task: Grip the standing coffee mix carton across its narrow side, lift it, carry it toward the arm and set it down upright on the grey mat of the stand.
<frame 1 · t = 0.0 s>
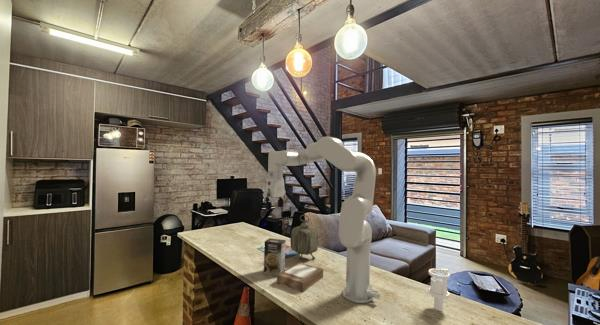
hand: (274, 208, 132), 31 cm above the counter, tool pointing down, fingers open, 9 cm apart
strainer: (438, 309, 98), on the counter
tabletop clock: (303, 258, 148), on the counter
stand: (300, 280, 120), on the counter
tablet: (280, 251, 161), on the counter
coffee box: (274, 273, 127), on the counter
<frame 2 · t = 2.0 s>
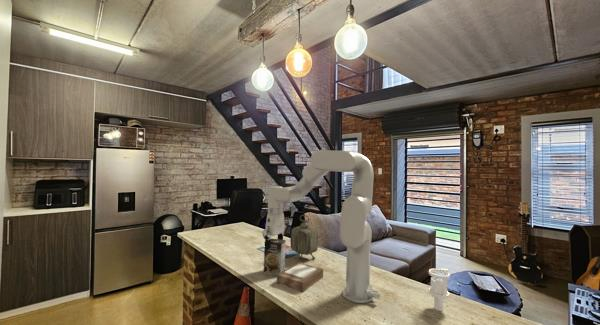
hand: (274, 245, 128), 14 cm above the counter, tool pointing down, fingers open, 9 cm apart
nothing on the counter moved.
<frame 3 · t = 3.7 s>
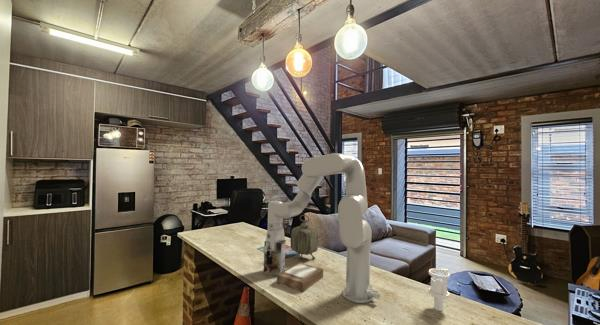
hand: (274, 261, 128), 6 cm above the counter, tool pointing down, fingers closed on coffee box, 7 cm apart
coffee box: (274, 273, 127), on the counter, touching gripper
everything else where it was.
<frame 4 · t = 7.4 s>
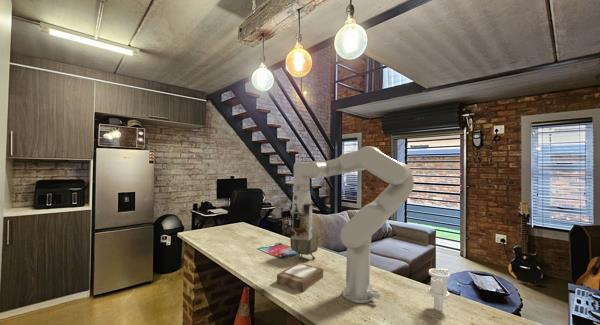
hand: (301, 225, 120), 25 cm above the counter, tool pointing down, fingers closed on coffee box, 7 cm apart
coffee box: (301, 238, 120), point 19 cm above the counter, touching gripper
everything else where it was.
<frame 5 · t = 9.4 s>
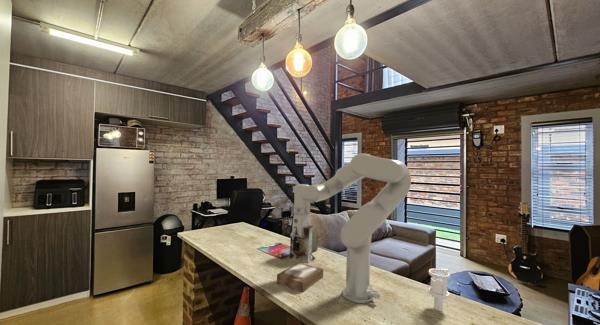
hand: (301, 248, 120), 15 cm above the counter, tool pointing down, fingers closed on coffee box, 7 cm apart
coffee box: (300, 260, 120), point 9 cm above the counter, touching gripper
everything else where it was.
when the fingers open (12 cm above the counter, at t = 11.1 s): coffee box drops 1 cm, resting on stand.
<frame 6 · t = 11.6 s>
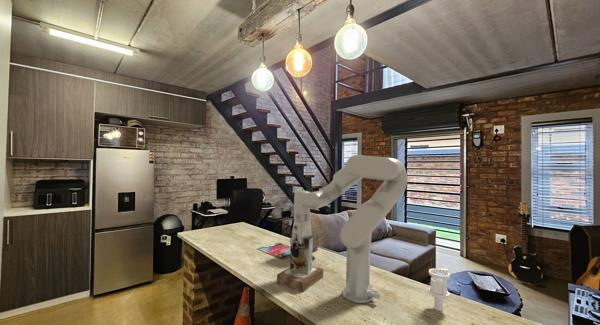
hand: (301, 253, 120), 12 cm above the counter, tool pointing down, fingers open, 9 cm apart
coffee box: (301, 270, 120), point 4 cm above the counter, touching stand
everything else where it was.
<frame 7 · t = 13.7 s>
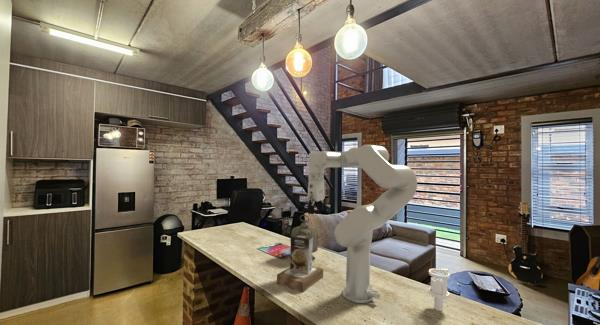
hand: (315, 212, 125), 31 cm above the counter, tool pointing down, fingers open, 9 cm apart
nothing on the counter moved.
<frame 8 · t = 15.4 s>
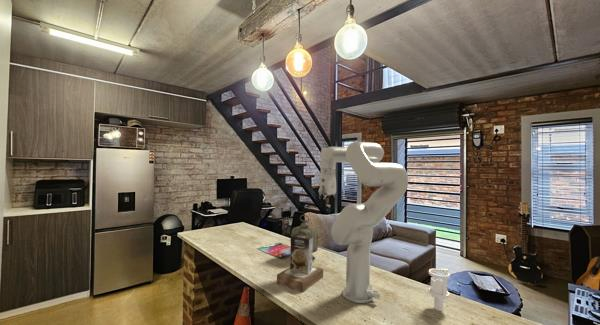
hand: (327, 205, 131), 33 cm above the counter, tool pointing down, fingers open, 9 cm apart
nothing on the counter moved.
at the end: coffee box inside the target area on the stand (0.2 cm from its centre), point 4.4 cm above the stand's base; coffee box tilted 0°; the gripper is holding nothing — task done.
